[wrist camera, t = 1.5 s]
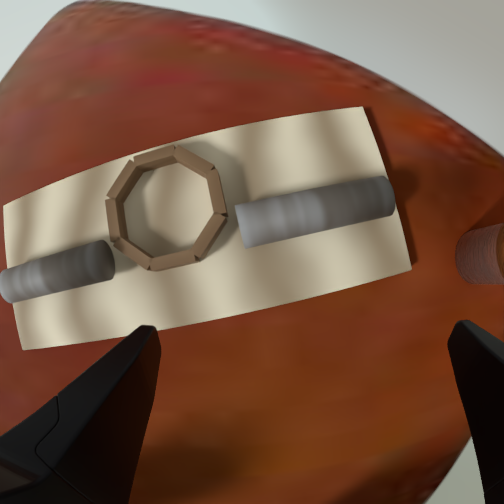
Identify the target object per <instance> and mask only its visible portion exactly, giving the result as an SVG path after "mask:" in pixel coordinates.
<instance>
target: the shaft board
mask: <svg viewBox="0 0 504 504" xmlns="http://www.w3.org/2000/svg"><path fill="white" fill-rule="evenodd" d="M4 232H5V247H6V258H7V267H8V269H5V270H3V271H2V272H1V274H0V293H1V295H2V297H3V298H4V299H5V300H6V301H7V302H9V303H13V308H14V313H15V318H16V323H17V328H18V333H19V337H20V341H21V345H22V349H23V350H29V349H38V348H46V347H54V346H62V345H69V344H77V343H84V342H91V341H97V340H104V339H110V338H117V337H123V336H128V335H129V334H130V333H132V332H133V331H134V330H135V329H136V328H138V327H139V326H140V325H153V326H155V327H156V329H157V331H158V330H163V329H169V328H174V327H179V326H184V325H190V324H195V323H200V322H205V321H210V320H214V319H219V318H224V317H229V316H233V315H238V314H243V313H247V312H252V311H256V310H261V309H265V308H269V307H274V306H278V305H282V304H286V303H290V302H295V301H299V300H303V299H307V298H311V297H315V296H319V295H323V294H327V293H330V292H334V291H338V290H342V289H346V288H349V287H353V286H357V285H360V284H364V283H368V282H371V281H375V280H378V279H382V278H385V277H389V276H392V275H396V274H399V273H403V272H406V271H409V270H412V269H411V264H410V259H409V255H408V250H407V246H406V242H405V237H404V233H403V229H402V225H401V222H400V218H399V214H398V210H397V207H396V203H395V195H394V191H393V188H392V186H391V183H390V182H389V180H388V176H387V173H386V170H385V167H384V164H383V161H382V158H381V155H380V152H379V149H378V147H377V144H376V141H375V138H374V135H373V133H372V130H371V127H370V125H369V122H368V120H367V117H366V114H365V112H364V109H363V107H355V108H346V109H337V110H329V111H322V112H314V113H307V114H301V115H295V116H289V117H283V118H277V119H271V120H266V121H261V122H256V123H251V124H246V125H241V126H236V127H232V128H227V129H223V130H219V131H214V132H210V133H206V134H202V135H198V136H194V137H190V138H186V139H183V140H179V141H175V142H172V143H168V144H165V145H161V146H158V147H154V148H151V149H148V150H145V151H141V152H138V153H135V154H132V155H129V156H126V157H123V158H120V159H117V160H114V161H111V162H108V163H105V164H102V165H99V166H97V167H94V168H91V169H88V170H86V171H83V172H80V173H78V174H75V175H73V176H70V177H68V178H65V179H63V180H60V181H58V182H55V183H53V184H50V185H48V186H46V187H43V188H41V189H39V190H36V191H34V192H32V193H30V194H27V195H25V196H23V197H21V198H19V199H16V200H14V201H12V202H10V203H8V204H6V205H4Z"/></svg>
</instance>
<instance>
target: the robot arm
mask: <svg viewBox="0 0 504 504" xmlns="http://www.w3.org/2000/svg"><path fill="white" fill-rule="evenodd" d="M448 350H449V354H450V358H451V362H452V366H453V370H454V375H455V379H456V383H457V387H458V391H459V394H460V397H461V400H462V404H463V407H464V410H465V414H466V417H467V421H468V424H469V428H470V432H471V436H472V439H473V444H474V448H475V452H476V456H477V460H478V465H479V470H480V475H481V480H482V486H483V491H484V498H485V504H504V342H502V341H501V340H499V339H498V338H496V337H494V336H493V335H491V334H490V333H488V332H487V331H485V330H484V329H482V328H481V327H479V326H477V325H476V324H474V323H473V322H471V321H470V320H460V321H458V322H457V323H456V324H455V326H454V328H453V331H452V333H451V335H450V337H449V339H448ZM160 358H161V345H160V341H159V337H158V333H157V329H156V327H155V326H153V325H140V326H139V327H138V328H136V329H135V330H134V331H133V332H132V333H130V334H129V335H128V336H127V337H125V338H124V339H123V340H122V341H121V342H119V343H118V344H117V345H116V346H114V347H113V348H112V349H111V350H110V351H108V352H107V353H106V354H105V355H104V356H102V357H101V358H100V359H99V360H98V361H96V362H95V363H94V364H93V365H92V366H90V367H89V368H88V369H87V370H85V371H84V372H83V373H82V374H81V375H79V376H78V377H77V378H76V379H75V380H73V381H72V382H71V383H70V384H69V385H67V386H66V387H65V388H64V389H63V390H62V391H60V392H59V393H58V394H57V396H54V397H53V398H52V399H51V400H49V401H48V402H47V403H46V404H45V405H43V406H42V407H41V408H40V409H38V410H37V411H36V412H35V413H33V414H32V415H30V416H29V417H28V418H26V419H25V420H24V421H22V422H21V423H19V424H18V425H16V426H15V427H13V428H12V429H10V430H9V431H7V432H6V433H4V434H3V435H2V436H0V504H128V501H129V497H130V493H131V488H132V484H133V480H134V475H135V471H136V467H137V463H138V459H139V455H140V451H141V447H142V443H143V439H144V435H145V432H146V428H147V424H148V420H149V417H150V413H151V409H152V405H153V401H154V396H155V390H156V383H157V377H158V370H159V364H160Z"/></svg>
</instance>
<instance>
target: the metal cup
mask: <svg viewBox="0 0 504 504" xmlns="http://www.w3.org/2000/svg"><path fill="white" fill-rule="evenodd" d="M455 261H456V267H457V270H458V272H459V274H460V276H461V277H462V278H463V279H464V280H465V281H466V282H468V283H470V284H504V223H501V224H497V225H493V226H489V227H485V228H481V229H476V230H472V231H469V232H466V233H465V234H463V235H462V236H461V238H460V239H459V241H458V243H457V246H456V251H455Z"/></svg>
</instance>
